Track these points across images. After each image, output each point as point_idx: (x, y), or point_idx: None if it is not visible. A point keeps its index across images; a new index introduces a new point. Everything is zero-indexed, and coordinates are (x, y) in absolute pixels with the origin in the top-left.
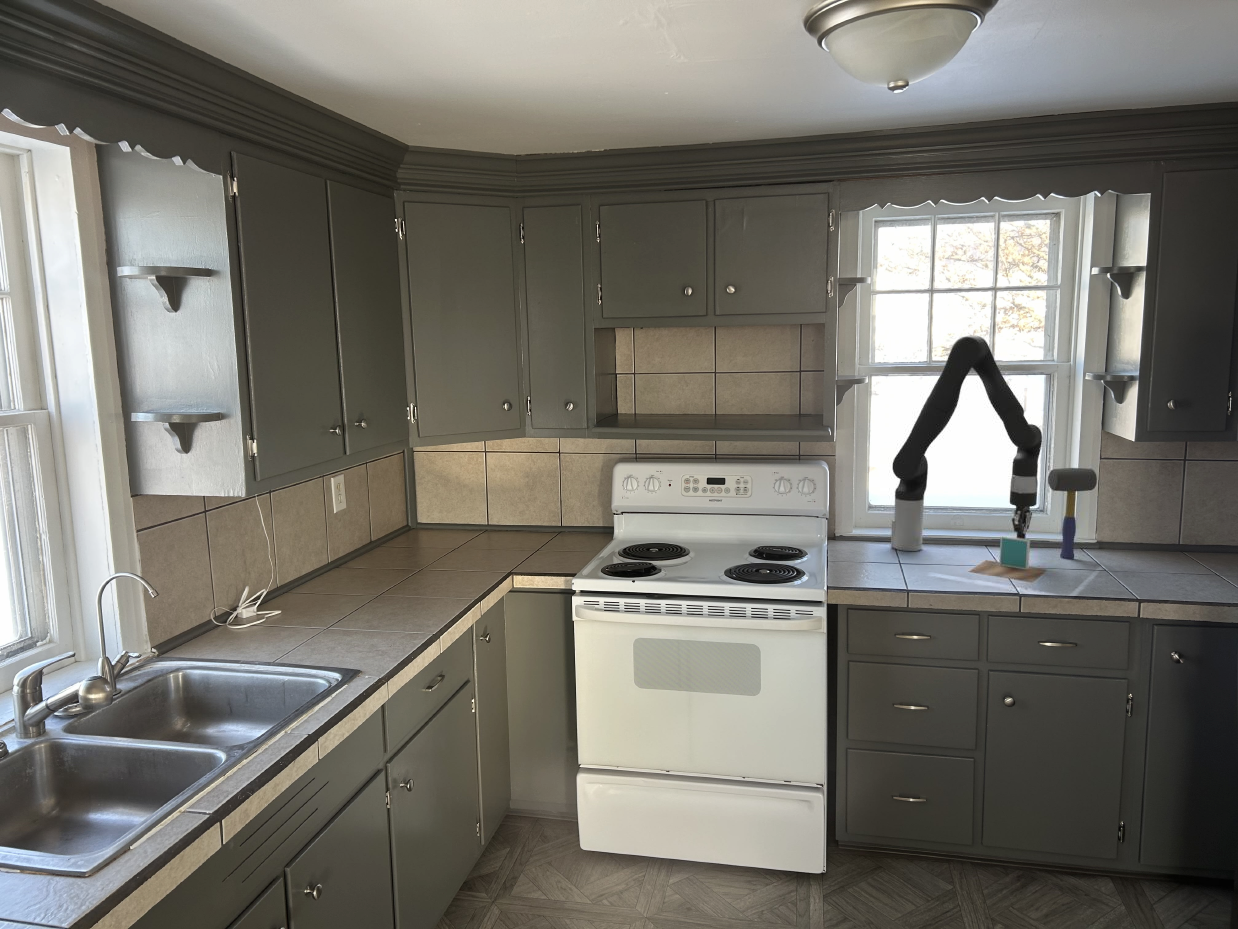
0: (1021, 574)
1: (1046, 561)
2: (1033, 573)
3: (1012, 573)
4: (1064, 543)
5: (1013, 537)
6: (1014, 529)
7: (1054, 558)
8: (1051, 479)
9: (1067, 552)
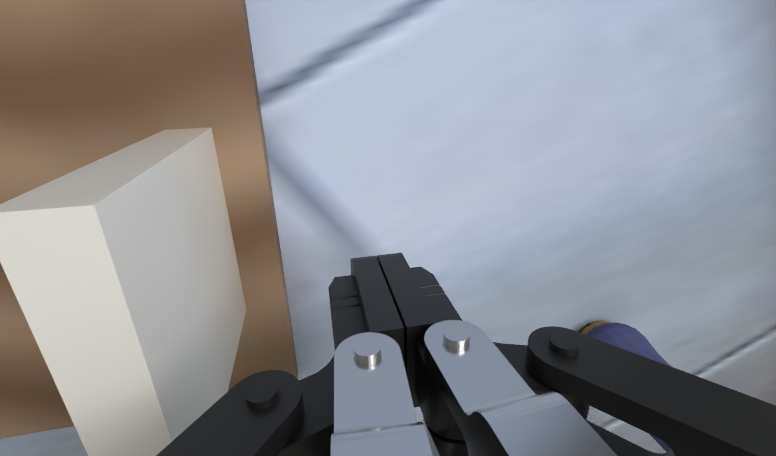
0: None
1: (548, 274)
2: None
3: (8, 293)
4: None
5: (125, 370)
6: (191, 434)
7: (625, 279)
8: None
9: None
